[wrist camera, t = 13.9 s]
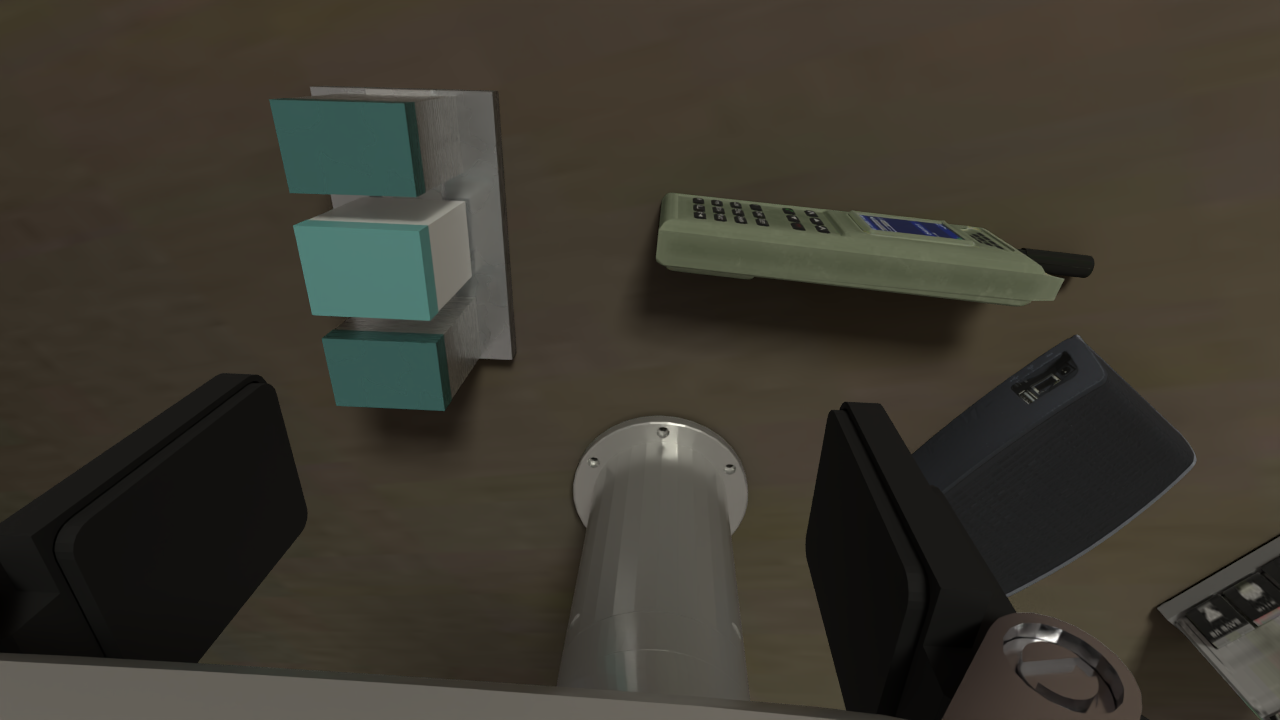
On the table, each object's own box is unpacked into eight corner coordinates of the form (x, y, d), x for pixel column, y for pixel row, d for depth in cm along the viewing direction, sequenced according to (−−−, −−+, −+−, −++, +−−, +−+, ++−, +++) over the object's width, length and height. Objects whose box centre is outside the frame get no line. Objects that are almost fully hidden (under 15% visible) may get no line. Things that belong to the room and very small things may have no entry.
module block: (472, 276, 37) (430, 320, 31) (374, 271, 38) (312, 314, 31) (465, 200, 35) (419, 231, 29) (361, 196, 36) (293, 225, 29)
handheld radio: (663, 182, 36) (1088, 231, 36) (657, 237, 38) (1064, 283, 38) (660, 212, 30) (1167, 270, 30) (653, 275, 32) (1135, 330, 32)
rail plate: (516, 352, 41) (481, 416, 34) (369, 345, 42) (302, 407, 34) (497, 90, 34) (448, 99, 27) (321, 86, 35) (224, 92, 27)
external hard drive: (1183, 437, 42) (1232, 473, 38) (952, 594, 49) (974, 637, 45) (1064, 322, 39) (1105, 350, 35) (836, 507, 46) (850, 546, 42)
